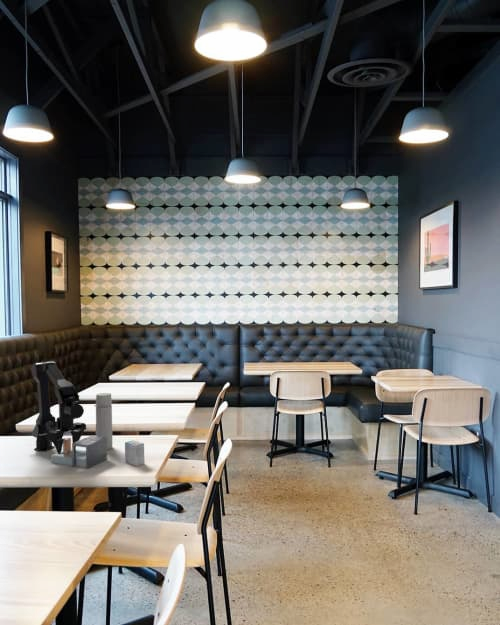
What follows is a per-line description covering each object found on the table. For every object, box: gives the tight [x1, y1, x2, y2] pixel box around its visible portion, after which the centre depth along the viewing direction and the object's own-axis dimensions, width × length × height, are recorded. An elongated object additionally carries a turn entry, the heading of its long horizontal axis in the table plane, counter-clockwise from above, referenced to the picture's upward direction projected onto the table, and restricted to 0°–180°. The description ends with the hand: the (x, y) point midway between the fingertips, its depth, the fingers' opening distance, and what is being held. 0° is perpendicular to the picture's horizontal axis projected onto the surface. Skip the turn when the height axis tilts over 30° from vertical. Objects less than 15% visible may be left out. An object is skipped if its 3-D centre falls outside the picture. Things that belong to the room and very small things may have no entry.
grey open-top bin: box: [71, 435, 108, 469], centre depth 207 cm, size 12×8×10 cm, turn 159°
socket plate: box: [50, 448, 86, 468], centre depth 209 cm, size 10×19×3 cm, turn 69°
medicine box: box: [124, 439, 145, 467], centre depth 206 cm, size 8×4×9 cm, turn 47°
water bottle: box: [94, 392, 113, 451], centre depth 227 cm, size 9×8×25 cm
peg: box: [62, 437, 72, 455], centre depth 211 cm, size 3×3×9 cm
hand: (66, 450), depth 211 cm, fingers open, 9 cm apart
